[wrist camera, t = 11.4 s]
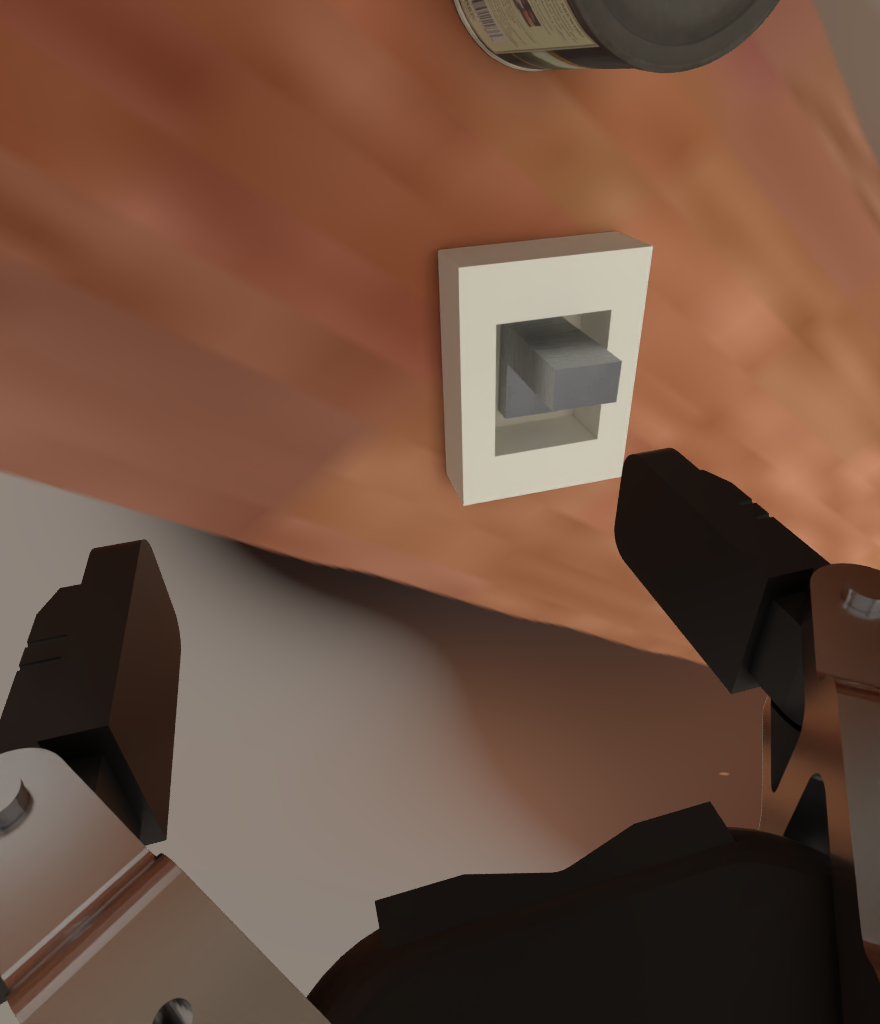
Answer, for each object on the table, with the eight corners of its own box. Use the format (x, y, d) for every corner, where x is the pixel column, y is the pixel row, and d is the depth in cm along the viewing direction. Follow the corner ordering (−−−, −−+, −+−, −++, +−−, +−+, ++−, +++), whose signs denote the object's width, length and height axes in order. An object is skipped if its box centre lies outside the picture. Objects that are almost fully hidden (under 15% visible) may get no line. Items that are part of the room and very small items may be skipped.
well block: (437, 249, 40) (458, 267, 37) (616, 231, 43) (652, 246, 39) (446, 473, 49) (463, 505, 46) (593, 448, 52) (621, 476, 48)
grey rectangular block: (500, 319, 43) (555, 369, 36) (557, 313, 44) (621, 361, 37) (498, 409, 47) (547, 472, 40) (550, 402, 48) (608, 461, 41)
